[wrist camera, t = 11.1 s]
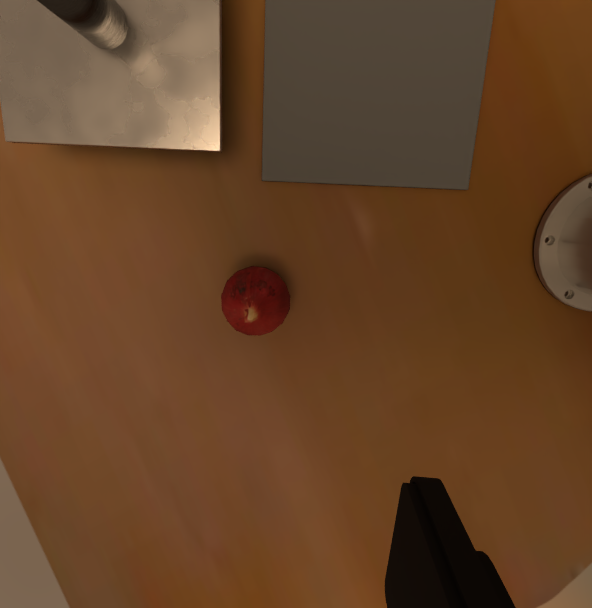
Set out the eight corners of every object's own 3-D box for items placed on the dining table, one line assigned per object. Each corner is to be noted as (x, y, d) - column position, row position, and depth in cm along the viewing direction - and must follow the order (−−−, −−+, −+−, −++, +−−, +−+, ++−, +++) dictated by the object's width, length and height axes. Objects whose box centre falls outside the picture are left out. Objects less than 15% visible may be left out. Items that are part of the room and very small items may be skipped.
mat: (501, -54, 30) (503, -57, 30) (466, 189, 35) (467, 189, 34) (267, -65, 30) (266, -69, 30) (262, 180, 35) (261, 180, 34)
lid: (221, -102, 25) (193, -213, 18) (222, 152, 28) (199, 136, 22) (-19, -114, 25) (-134, -230, 18) (13, 142, 28) (-73, 124, 22)
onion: (219, 272, 37) (199, 291, 29) (278, 252, 36) (272, 265, 28) (242, 328, 38) (228, 360, 30) (298, 309, 38) (299, 337, 30)
